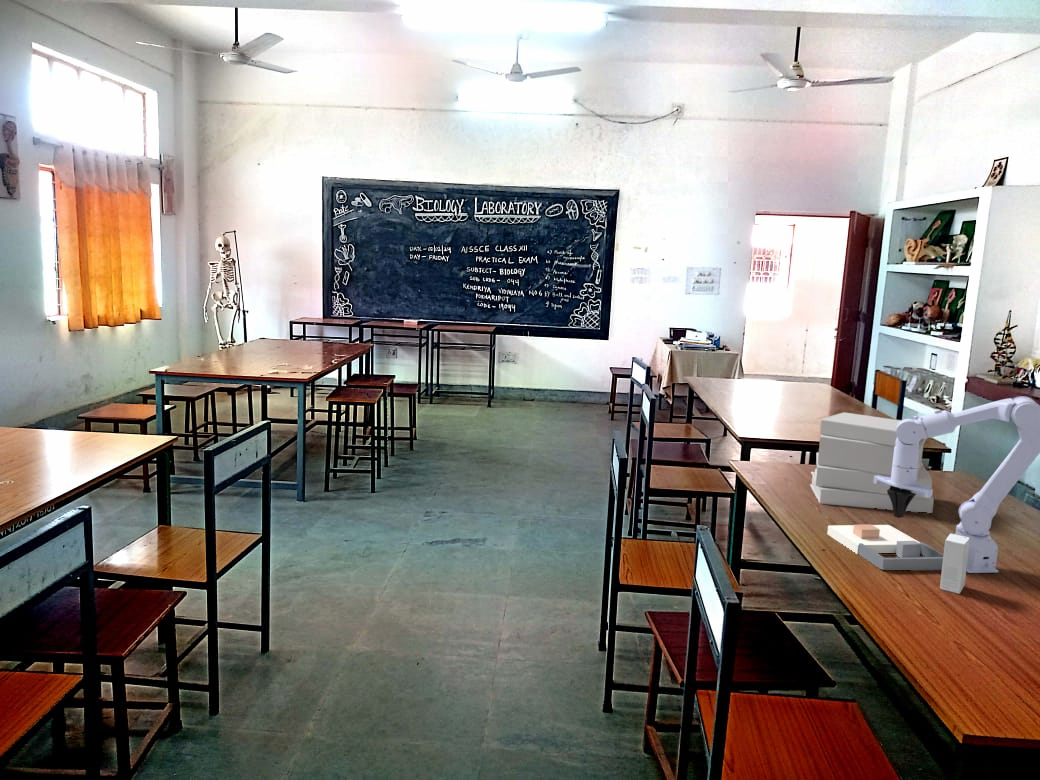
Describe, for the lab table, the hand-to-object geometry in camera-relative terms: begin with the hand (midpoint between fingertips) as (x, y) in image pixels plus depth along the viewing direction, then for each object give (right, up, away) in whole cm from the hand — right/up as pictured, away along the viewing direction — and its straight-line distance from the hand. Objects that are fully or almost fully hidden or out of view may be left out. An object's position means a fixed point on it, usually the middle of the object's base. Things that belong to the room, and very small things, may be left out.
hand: (898, 516), depth 194 cm
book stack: (+15, -3, +49) cm, 51 cm away
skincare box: (+2, -13, -20) cm, 24 cm away
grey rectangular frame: (-2, -10, -5) cm, 12 cm away
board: (-3, -9, +8) cm, 12 cm away
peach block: (-6, -6, +6) cm, 10 cm away
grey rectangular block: (+1, -8, -1) cm, 8 cm away
